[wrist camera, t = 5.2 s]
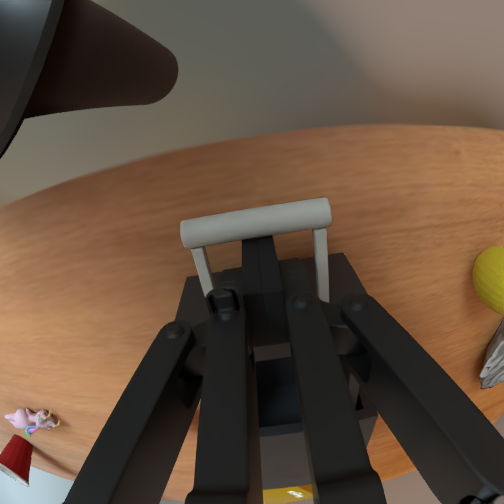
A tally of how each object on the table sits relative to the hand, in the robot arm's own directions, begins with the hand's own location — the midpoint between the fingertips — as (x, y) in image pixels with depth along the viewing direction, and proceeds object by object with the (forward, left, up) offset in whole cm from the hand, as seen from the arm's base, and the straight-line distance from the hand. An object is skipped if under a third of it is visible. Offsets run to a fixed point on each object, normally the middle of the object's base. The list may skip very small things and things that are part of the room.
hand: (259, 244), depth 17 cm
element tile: (+53, -6, -5) cm, 54 cm away
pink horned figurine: (+27, -44, -5) cm, 52 cm away
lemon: (+7, +21, -5) cm, 23 cm away
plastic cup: (+45, -66, -5) cm, 80 cm away
